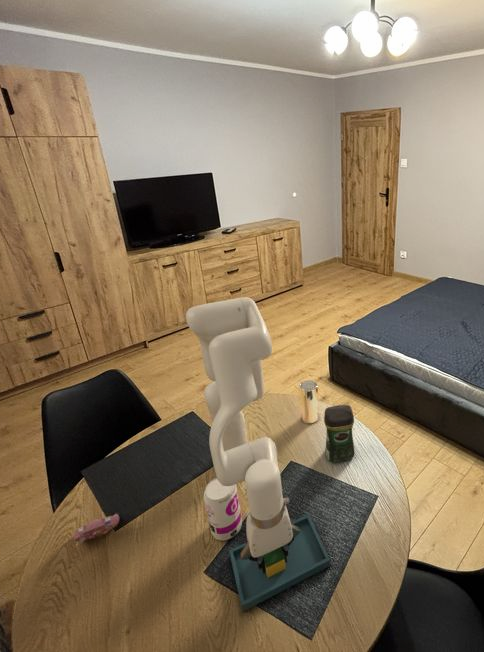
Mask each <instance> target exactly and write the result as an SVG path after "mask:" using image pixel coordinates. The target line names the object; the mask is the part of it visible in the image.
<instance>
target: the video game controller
mask: <svg viewBox="0 0 484 652" xmlns="http://www.w3.org/2000/svg"><path fill="white" fill-rule="evenodd" d="M119 522H120V516H119V514H118V513H114V515H109V516H105V517H102V518H95V519H93V520H91V521H90V522H88V523H86V524H84V525H81V526H80V527H78V528H76V530H75V532H74V536H73V537H74V542H80V543H83V542H85V541H86V540H92V539H94V538H95V537H97V532H99V534H100V535H106V534H107V533H109V532H110V531H111V530H113V529H114V528H115V527H117V525H118V524H119Z"/></svg>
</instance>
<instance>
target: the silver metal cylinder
mask: <svg viewBox="0 0 484 652" xmlns="http://www.w3.org/2000/svg"><path fill="white" fill-rule="evenodd" d="M298 394H299V402H300V406H301V408H302V415H301V416H302V417H301V419H302V422H304V423H306V424H314V423H316V422H317V421H318V420H319V414H318V404H319V388H318V383H317V381H315V380H311V379H307V380H303V381H302V382H300V384H299V393H298Z"/></svg>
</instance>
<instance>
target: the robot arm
mask: <svg viewBox="0 0 484 652" xmlns="http://www.w3.org/2000/svg"><path fill="white" fill-rule="evenodd" d="M185 320H186V324H187V326H188V328H189V329H190V331H191V332H192V333H193V334H194V335H195V336H196V338H197V339H198V341H199V343H200V349H201V354H202V360H203V366H204V370H205V373H206V376H207V378H208V379H209V380H210V381H211V382H209V383H208V384H207V385H206V387H205V388H204V390H203V392H204V393H203V396H204V401H205V403H206V406H207V408H208V411H209V414H210V418H211V422H212V424H211V427H210V430H209V437H208V439H209V440H208V441H209V442H208V443H209V450H210V455H211V460H212V465H213V468H214V474H215V476H216V478H217V479H218V481H219V482H220V484H222V485H223V486H232V485H235V484H236V485H237V484H239V483H242V482H244V484H245V490H246V497H247V502H248V503H247V504H248V510H249V513H248V514H247V516H246V523H245V524H246V525H245V526H246V527H245V529H246V530H245V531H246V539H247V540H246V541H247V542H246V543H247V544H246V545H245V547H244V549H243V550H242V552H241V553H240V555H241V559H242V560H248V559H250V561H256V562H257V563H258V567H259V569H261V568H262V570H263V574H264V573H266V568H265V562H264V559H263V556H264V554H267V553H269V552H271V551H273V550H275V549H277V548H279V547H281V548H282V551H283V554H284V556H285V563H286V562H287V557H286V556H288V550H289V546H290V544H291V543H292V542H293V541H294V538H295V537H296V536H297V535H298V534H299V533H300V530H299V527H297V526H295V525H293V524H291V522H292V521H291V518H290V514H289V512H288V508H287V505H288V504H290V503H291V502H290V498H289V497H284V496H283V486H282V477H281V471H280V467H279V464H278V463H279V462H278V449H277V446H276V445H277V444H276V443H275V441H273V439H272V438H271V437H269V436H264V437H259V438H256V439H255V440H252V441H249V440H248V433H247V427H246V419H245V415H244V412H243V410H244V409H245V408H246V407H248V406H249V405H250V404H252V403H254V402H257V401H259V400H260V399H262V398H263V397H264V394H265V383H264V382H265V381H264V371H263V361H262V360H266V359H269V357H271V356H272V353H273V342H272V338H271V335H270V332H269V329H268V327H267V325H266V322H265V320H264V318H263V316H262V314H261V312H260V310H259V308H258V306H257V304H256V301H254V300H253V298H251V297H247V296H243V297H237V298H230V299H227V300H226V299H225V300H220V301H215V302H209V303H203V304H199V305H195V306H191V307H190V308H189V309H187V311H186V313H185ZM248 441H249V442H248Z"/></svg>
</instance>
